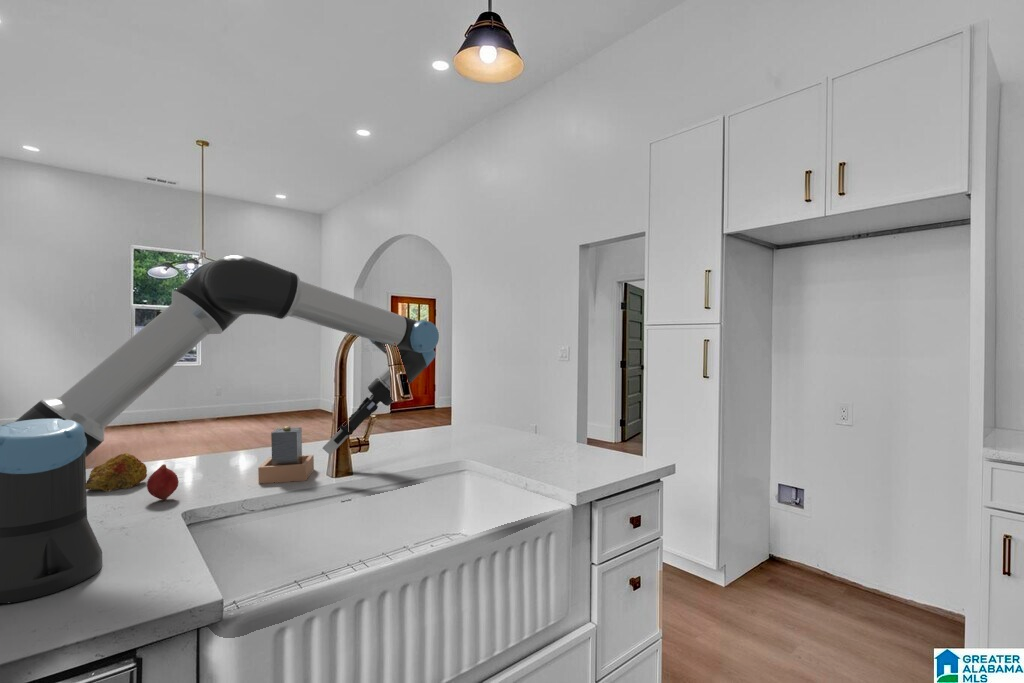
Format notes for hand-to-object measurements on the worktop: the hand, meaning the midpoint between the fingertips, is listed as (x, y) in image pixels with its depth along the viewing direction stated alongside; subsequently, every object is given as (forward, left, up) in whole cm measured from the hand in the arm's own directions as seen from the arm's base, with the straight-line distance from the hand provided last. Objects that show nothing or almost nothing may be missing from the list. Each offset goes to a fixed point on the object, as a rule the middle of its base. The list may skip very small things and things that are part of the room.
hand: (330, 445), depth 135 cm
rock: (+1, +50, -8) cm, 50 cm away
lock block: (0, +11, -6) cm, 12 cm away
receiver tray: (0, +11, -7) cm, 13 cm away
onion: (-14, +34, -8) cm, 37 cm away
